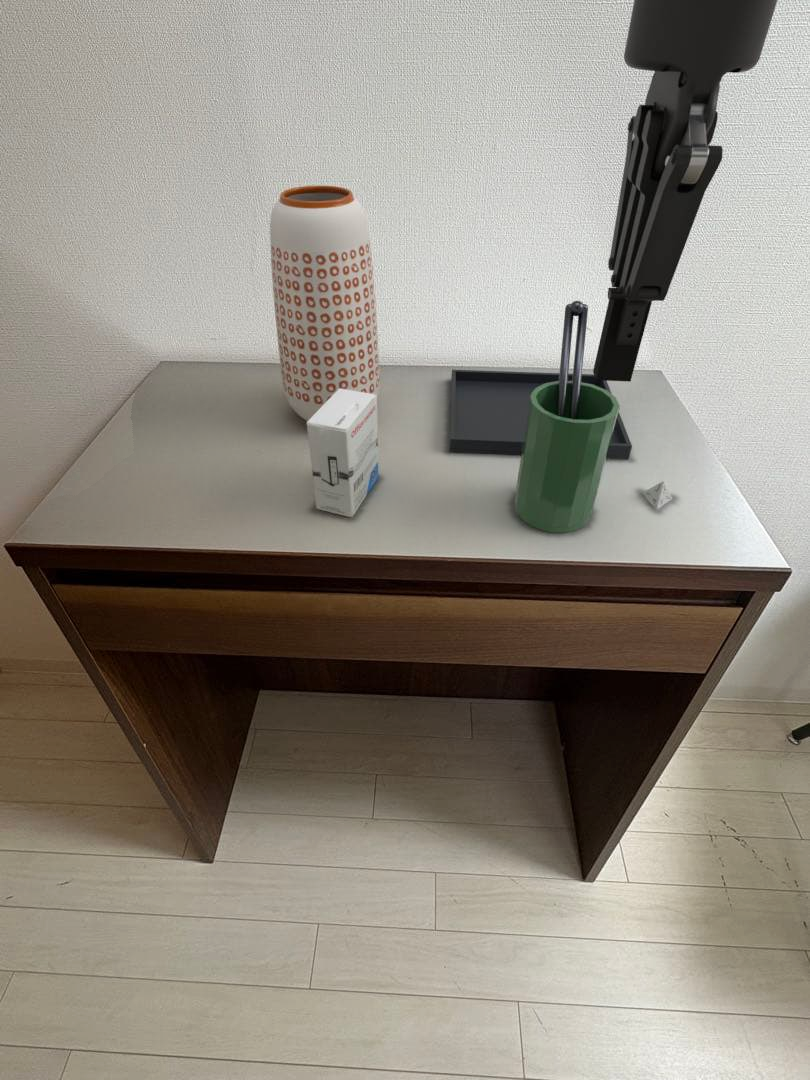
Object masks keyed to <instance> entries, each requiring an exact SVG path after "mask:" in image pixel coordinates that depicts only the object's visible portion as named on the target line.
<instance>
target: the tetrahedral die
mask: <svg viewBox="0 0 810 1080" xmlns="http://www.w3.org/2000/svg"><path fill="white" fill-rule="evenodd" d="M642 494H643V496H644V497H645V498H646V500H648V502H649V504H651V505H652V506H653V508H654V510H659V509H660V508H662V507H663V506H664V505H666V504H668V502H670V501H671V500H672V499H673V496H672V494H671V493H670V490H669V489H668V486H667V485H666V483H665V481H664V480H663V481H660V482H659V483H657V484H656V485H654V486H651V487H650V488H648V489H646V490H644V491H643V492H642Z"/></svg>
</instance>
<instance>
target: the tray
mask: <svg viewBox="0 0 810 1080" xmlns="http://www.w3.org/2000/svg"><path fill="white" fill-rule="evenodd" d="M559 374H560V372H539V371H538V372H535V371H534V372H533V371H532V372H531V371H506V370H505V371H503V370H477V369H451V381H450V384H451V385H450V420H449V421H450V422H449V423H450V424H449V426H450V427H449V453H465V454H466V453H467V454H468V453H469V454H490V455H491V454H492V455H517V456H521V454H522V447H523V441H524V434H525V427H526V421H527V414H528V408H529V401H530V396H531V394H532V392H533V391H534V389H535V388H537V387H539V386H541V385H543V384H545V383H550V382H555V381H559ZM572 379H573V373H568V381H572ZM581 382H583V383H588V384H592V385H595V386H597V387H600V388H602V389H605V390H607V391H608V392H609V393H611V394H612V395H613V393H612V390H611V388H610V385H609V383H608V381H602V380H596V379H595V376H594V373H592V374H591V373H582V377H581ZM632 448H633V444H632V442H631V440H630V437H629V434H628V432H627V429H626V427H625V424H624V422H623V419H622V416H621V414H620V412H619V411H618V415H617V418H616V422H615V426H614V430H613V434H612V438H611V441H610V445H609V449H608V453H607V457H606V459H614V460H629V458H630V456H631V453H632Z"/></svg>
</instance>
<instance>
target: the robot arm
mask: <svg viewBox="0 0 810 1080" xmlns="http://www.w3.org/2000/svg"><path fill="white" fill-rule="evenodd" d="M777 4H778V0H634V1H633V5H632V10H631V14H630V15H631V17H630V21H629V26H628V32H627V37H626V41H625V42H626V43H625V48H624V52H623V60H624V63H625V64H626V65H627V66H628V67H629V68H632V69H635V70H640V71H641V70H643V71H650V72H654V73H653V75H652V77H651V82H650V84H649V87H648V90H647V94H646V96H645V101H644V104H639V105H638V107H637V110H636V114H635V115H632V116H631V118H630V119H629V122H628V124H627V140H626V141H627V143H626V153H625V161H624V167H623V173H622V178H621V179H622V180H621V185H620V186H621V187H620V190H619V191H620V193H619V199H618V203H617V210H616V217H615V224H614V230H613V234H612V235H613V236H612V241H611V248H610V254H609V257H608V262H607V266H608V270H609V271H612V274H611V276H610V282H611V287H608V288H607V300H608V302H607V307H606V312H605V316H604V321H603V325H602V330H601V334H600V339H599V342H598V348H597V351H596V353H597V354H596V357H595V360H594V361H595V362H594V365H593V370H592V374H594V376H595V379H596V380H602V381H607V382H628V383H629V382H631V383H632V378H633V375H634V371H635V367H636V363H637V359H638V355H639V352H640V348H641V344H642V340H643V338H644V333H645V329H646V325H647V322H648V318H649V314H650V311H651V307H652V303H653V302H655V301H657V302H658V301H659V302H663V301H665V299H666V298H667V297H666V296H667V295H668V293H669V290H670V286H671V285H672V281H673V279H674V276H675V273H676V270H677V268H678V265H679V262H680V260H681V257H682V255H683V253H684V249H685V246H686V244H687V241H688V239H689V236H690V233H691V230H692V228H693V225H694V222H695V220H696V218H697V215H698V212H699V209H700V207H701V203H702V201H703V199H704V196H705V192H706V191H707V189H708V187H709V185H710V183H711V181H712V180H713V178H714V176H715V175H716V172H717V170H718V169H719V167H720V165H721V163H722V161H723V150H724V149H723V146H722V145H710V144H712V143H711V142H712V140H713V138H714V134H715V131H716V128H717V123H718V117H719V114H718V111H717V108H718V99H719V94H720V89H721V85H720V83H721V82H722V79H723V77H724V76H725V75H726V74H727V73H734V74H737V73H745V72H748V71H751V70H752V69H753V68H754V67H756V65H757V64H758V62H759V61H760V59H761V56H762V52H763V48H764V45H765V42H766V39H767V36H768V33H769V30H770V26H771V23H772V18H773V16H774V12H775V9H776V6H777Z"/></svg>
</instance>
